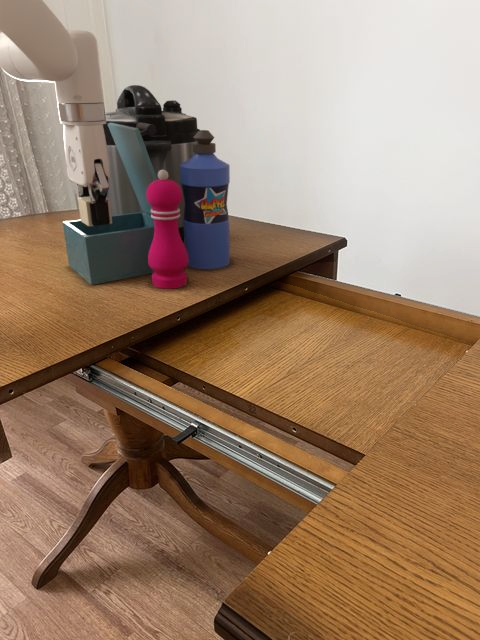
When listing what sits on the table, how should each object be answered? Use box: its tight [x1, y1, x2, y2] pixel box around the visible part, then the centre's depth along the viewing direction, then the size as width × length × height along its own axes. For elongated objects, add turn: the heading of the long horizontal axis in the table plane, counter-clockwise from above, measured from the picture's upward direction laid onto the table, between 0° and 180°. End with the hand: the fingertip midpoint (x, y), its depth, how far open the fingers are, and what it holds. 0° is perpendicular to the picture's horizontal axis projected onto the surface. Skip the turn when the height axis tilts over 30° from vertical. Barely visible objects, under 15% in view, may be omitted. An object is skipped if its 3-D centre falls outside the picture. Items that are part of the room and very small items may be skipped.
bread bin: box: [62, 212, 155, 286], centre depth 105 cm, size 17×13×9 cm
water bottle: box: [180, 129, 231, 270], centre depth 105 cm, size 9×9×25 cm
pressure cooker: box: [95, 84, 201, 239], centre depth 124 cm, size 30×28×32 cm
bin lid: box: [108, 122, 158, 214], centre depth 103 cm, size 17×13×5 cm
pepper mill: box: [146, 170, 189, 290], centre depth 95 cm, size 7×7×20 cm
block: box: [77, 196, 112, 227], centre depth 100 cm, size 4×4×4 cm
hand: (95, 220), depth 100 cm, fingers closed on block, 4 cm apart
